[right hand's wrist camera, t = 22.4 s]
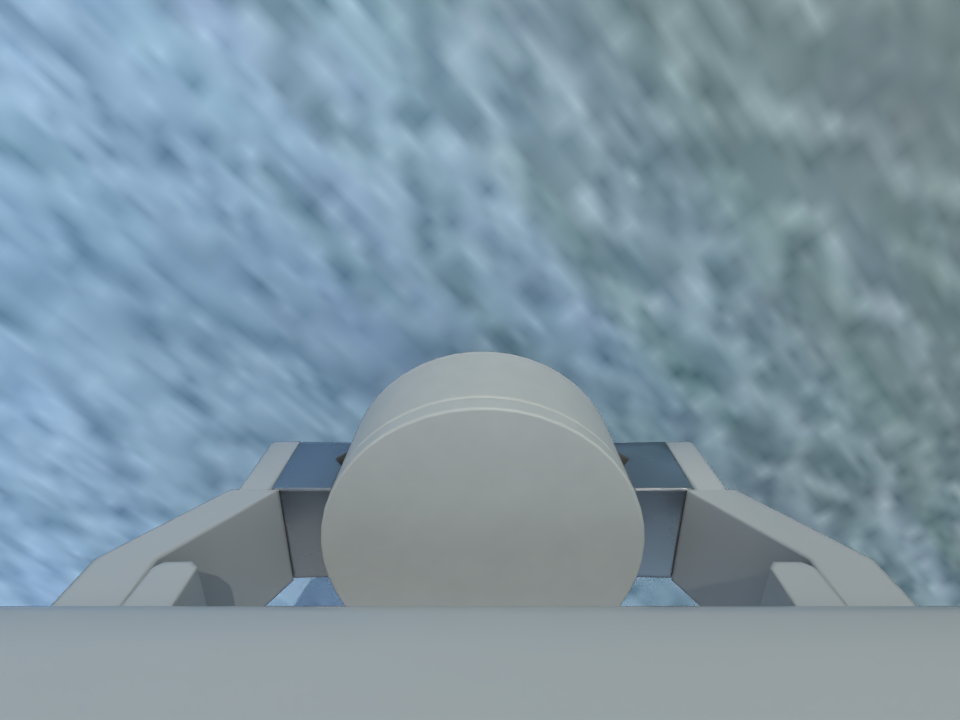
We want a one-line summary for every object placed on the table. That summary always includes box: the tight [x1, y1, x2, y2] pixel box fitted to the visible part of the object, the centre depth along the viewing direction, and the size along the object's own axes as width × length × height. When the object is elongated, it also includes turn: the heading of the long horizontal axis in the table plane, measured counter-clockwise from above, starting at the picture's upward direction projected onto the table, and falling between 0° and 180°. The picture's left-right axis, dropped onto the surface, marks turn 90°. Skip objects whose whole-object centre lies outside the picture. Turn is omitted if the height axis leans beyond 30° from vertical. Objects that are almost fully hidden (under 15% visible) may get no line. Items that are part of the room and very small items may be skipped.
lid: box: [321, 352, 645, 606], centre depth 9 cm, size 5×5×2 cm
